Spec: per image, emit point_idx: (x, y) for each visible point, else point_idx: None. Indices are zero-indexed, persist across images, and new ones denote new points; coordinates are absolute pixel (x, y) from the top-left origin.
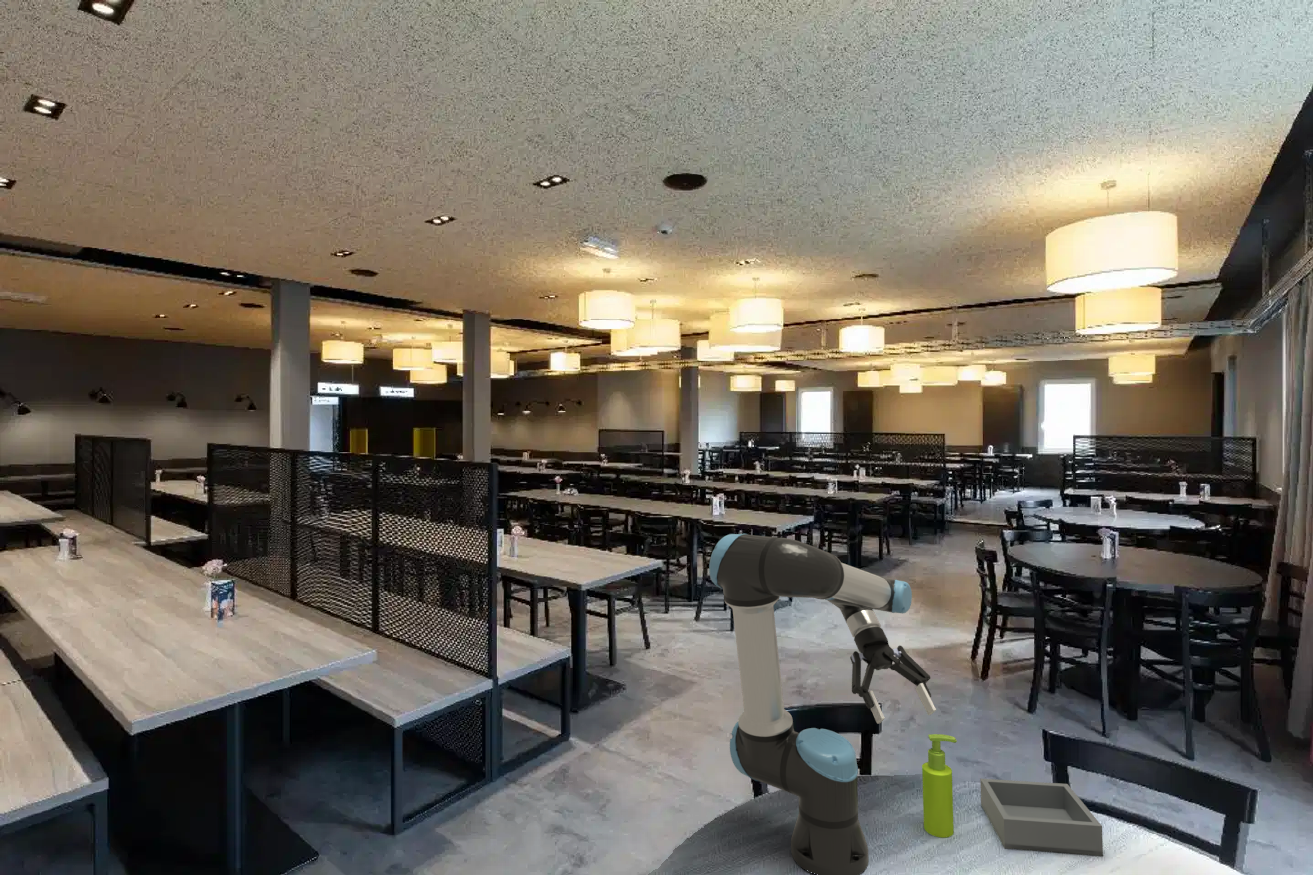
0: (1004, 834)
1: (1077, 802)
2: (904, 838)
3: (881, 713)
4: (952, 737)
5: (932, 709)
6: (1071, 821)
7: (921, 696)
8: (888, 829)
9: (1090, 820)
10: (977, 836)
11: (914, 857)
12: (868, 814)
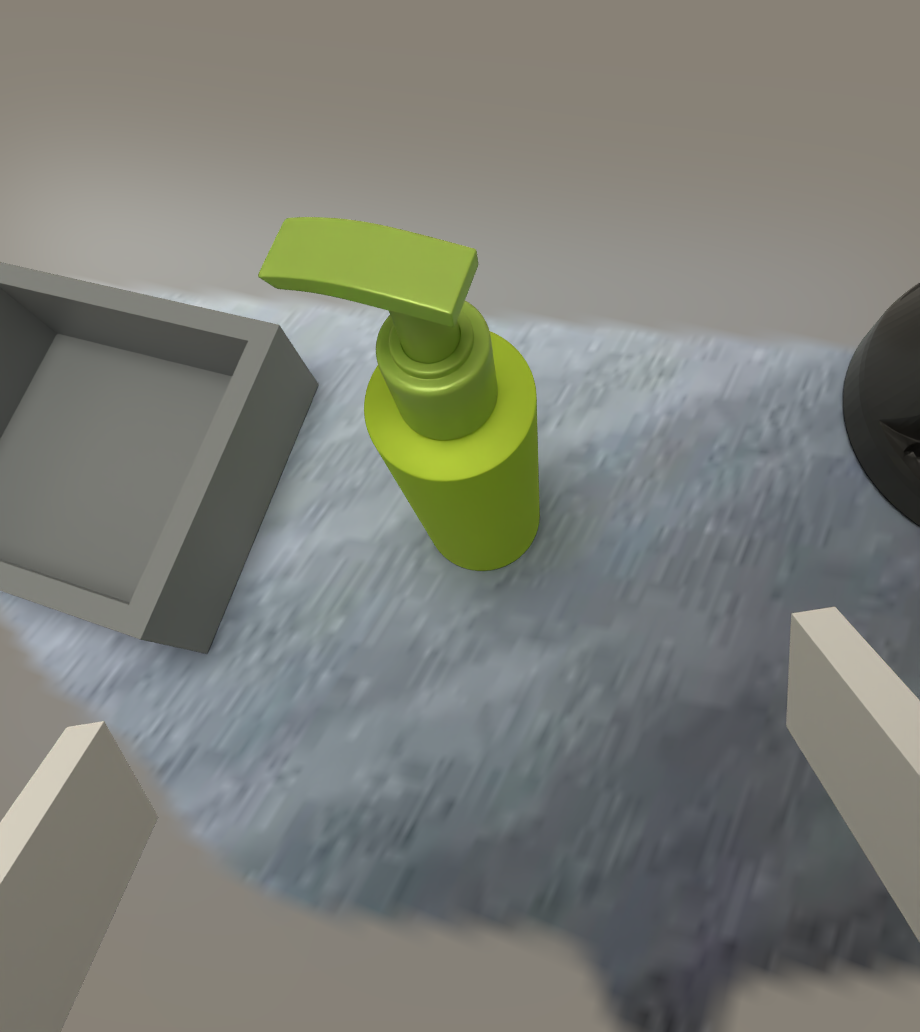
0: (300, 359)
1: None
2: (649, 479)
3: (842, 650)
4: (283, 259)
5: (102, 741)
6: (56, 290)
7: (26, 1015)
8: (691, 544)
9: None
10: (364, 457)
11: (660, 372)
12: (742, 667)
